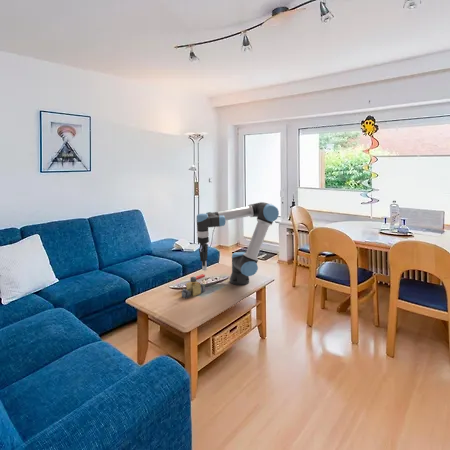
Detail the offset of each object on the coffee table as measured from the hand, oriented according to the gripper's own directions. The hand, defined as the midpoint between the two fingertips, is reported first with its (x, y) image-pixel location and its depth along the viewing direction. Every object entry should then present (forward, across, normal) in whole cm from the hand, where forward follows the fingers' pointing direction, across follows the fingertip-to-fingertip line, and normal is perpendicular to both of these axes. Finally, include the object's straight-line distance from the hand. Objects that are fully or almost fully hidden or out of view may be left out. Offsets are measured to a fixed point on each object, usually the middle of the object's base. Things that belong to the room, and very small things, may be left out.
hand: (204, 269), depth 219 cm
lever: (+8, -2, -6) cm, 10 cm away
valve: (+18, +2, -8) cm, 20 cm away
